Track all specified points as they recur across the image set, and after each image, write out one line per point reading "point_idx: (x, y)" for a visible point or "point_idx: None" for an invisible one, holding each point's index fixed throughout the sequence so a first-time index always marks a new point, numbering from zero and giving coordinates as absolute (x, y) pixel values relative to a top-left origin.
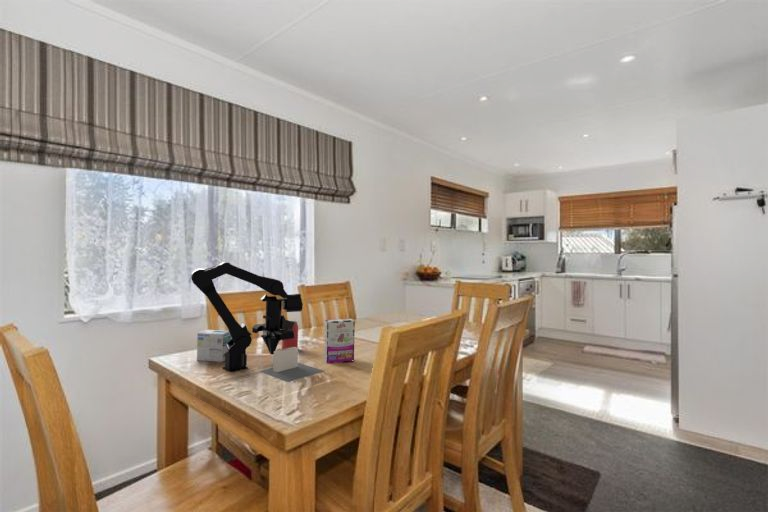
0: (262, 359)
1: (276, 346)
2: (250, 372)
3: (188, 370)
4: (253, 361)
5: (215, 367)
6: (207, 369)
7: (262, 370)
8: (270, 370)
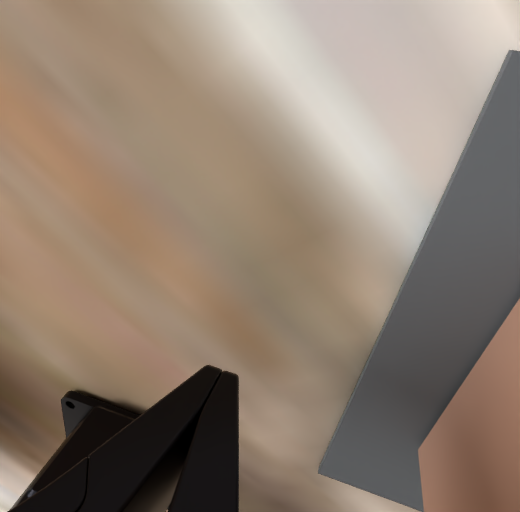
0: (32, 180)
1: (237, 510)
2: (266, 478)
3: (5, 494)
4: (44, 272)
5: (28, 444)
6: (38, 473)
7: (326, 458)
8: (391, 447)
